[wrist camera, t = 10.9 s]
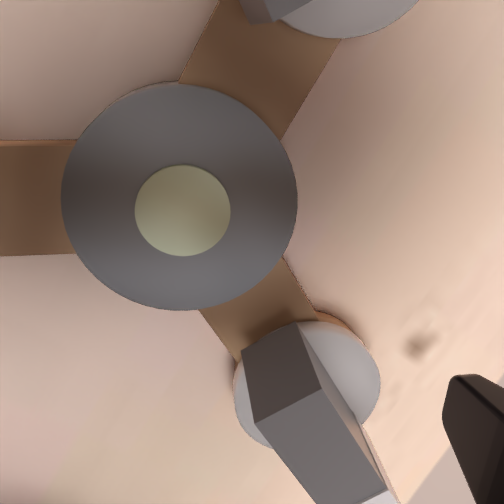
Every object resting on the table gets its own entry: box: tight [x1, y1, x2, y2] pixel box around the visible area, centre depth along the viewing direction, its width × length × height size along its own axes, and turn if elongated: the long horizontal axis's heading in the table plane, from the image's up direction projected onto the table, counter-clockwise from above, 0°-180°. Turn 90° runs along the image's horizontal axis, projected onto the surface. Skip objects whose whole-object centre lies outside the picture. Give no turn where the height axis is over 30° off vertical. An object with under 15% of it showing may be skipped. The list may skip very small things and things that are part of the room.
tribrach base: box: [0, 0, 352, 371], centre depth 17 cm, size 23×21×2 cm
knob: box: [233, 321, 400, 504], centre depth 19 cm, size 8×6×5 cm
